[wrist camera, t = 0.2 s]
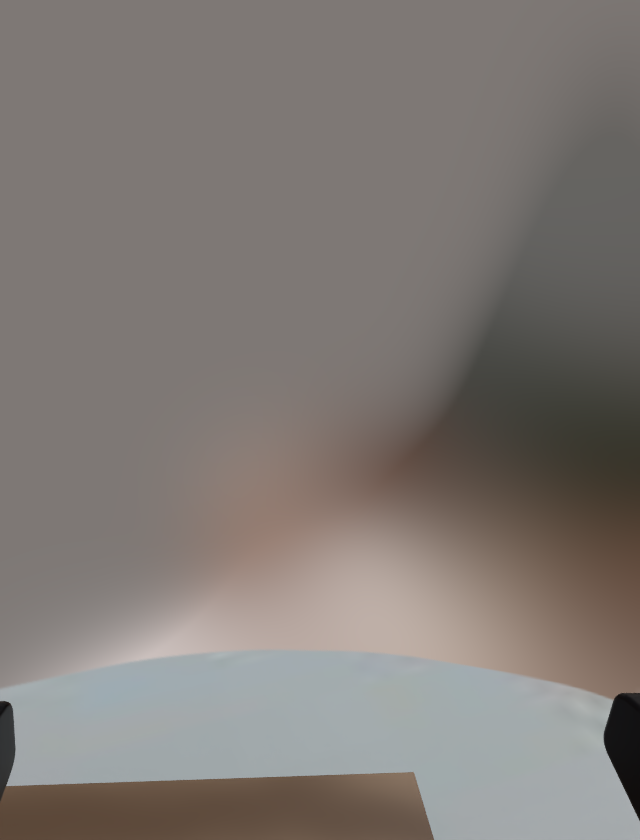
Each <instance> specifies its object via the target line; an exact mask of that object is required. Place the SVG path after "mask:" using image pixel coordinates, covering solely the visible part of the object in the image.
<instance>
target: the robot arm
mask: <svg viewBox="0 0 640 840" xmlns="http://www.w3.org/2000/svg"><path fill="white" fill-rule="evenodd" d="M604 745H605V748H606V751H607V754H608V756H609V758H610V760H611V762H612V764H613V766H614V768H615V770H616V772H617V774H618V777H619V779H620V781H621V783H622V785H623V787H624V789H625V791H626V793H627V795H628V797H629V800H630V802H631V804H632V806H633V808H634V810H635V812H636V814H637V816H638V818H639V820H640V693H621V694H618V695H617V696H616V697H615V699H614V701H613V704H612V707H611V711H610V714H609V717H608V721H607V724H606V727H605V731H604ZM14 758H15V734H14V719H13V708H12V706H11V704H10V703H9V702H6V701H0V801H1V799H2V796H3V793H4V790H5V787H6V784H7V782H8V779H9V776H10V773H11V770H12V767H13V763H14Z"/></svg>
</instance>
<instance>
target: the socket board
mask: <svg viewBox="0 0 640 840" xmlns="http://www.w3.org/2000/svg"><path fill="white" fill-rule="evenodd" d="M0 840H434V838H433V835H432V832H431V828H430V825H429V822H428V818H427V815H426V812H425V808H424V805H423V802H422V798H421V795H420V792H419V788H418V785H417V782H416V778H415V775H414V772H408V773H379V774H350V775H321V776H292V777H263V778H234V779H204V780H175V781H146V782H117V783H88V784H59V785H30V786H6V787H5V790H4V793H3V796H2V799H1V801H0Z"/></svg>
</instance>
